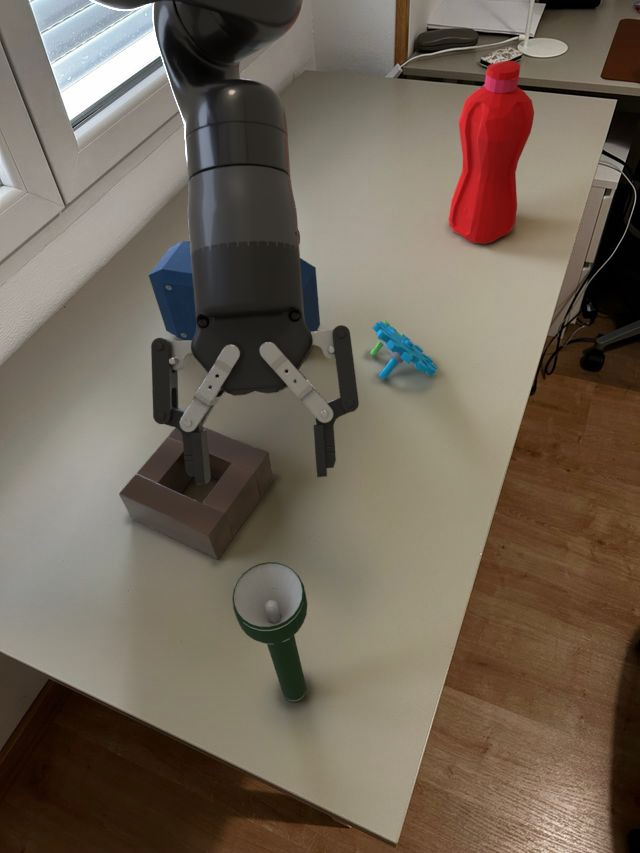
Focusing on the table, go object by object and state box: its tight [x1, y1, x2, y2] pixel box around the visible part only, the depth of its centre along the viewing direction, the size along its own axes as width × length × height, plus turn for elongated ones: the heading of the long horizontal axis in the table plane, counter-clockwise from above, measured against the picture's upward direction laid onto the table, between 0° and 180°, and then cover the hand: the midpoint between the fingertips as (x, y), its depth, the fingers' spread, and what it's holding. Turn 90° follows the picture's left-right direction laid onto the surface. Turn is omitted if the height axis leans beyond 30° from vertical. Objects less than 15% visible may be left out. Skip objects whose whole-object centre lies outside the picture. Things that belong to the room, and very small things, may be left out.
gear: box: [369, 320, 439, 381], centre depth 84 cm, size 11×6×10 cm
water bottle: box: [448, 60, 535, 245], centre depth 96 cm, size 9×11×25 cm
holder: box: [118, 426, 275, 561], centre depth 72 cm, size 12×12×5 cm
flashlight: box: [231, 561, 308, 704], centre depth 52 cm, size 5×5×20 cm
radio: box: [148, 240, 321, 340], centre depth 84 cm, size 21×9×20 cm, turn 72°
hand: (263, 479), depth 46 cm, fingers open, 8 cm apart
